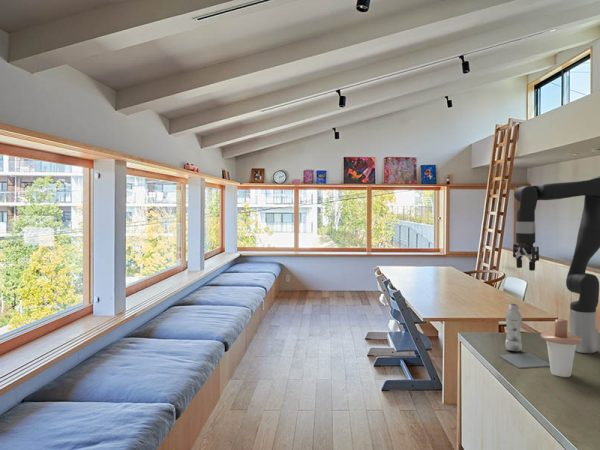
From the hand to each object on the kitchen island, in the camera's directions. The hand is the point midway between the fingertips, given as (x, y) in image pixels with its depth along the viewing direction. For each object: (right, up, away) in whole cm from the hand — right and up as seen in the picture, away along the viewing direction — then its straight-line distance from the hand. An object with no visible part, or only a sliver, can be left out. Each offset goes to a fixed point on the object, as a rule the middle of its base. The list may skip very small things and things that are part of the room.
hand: (525, 269), depth 188 cm
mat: (-8, -35, -15) cm, 39 cm away
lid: (-2, -23, -29) cm, 37 cm away
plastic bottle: (-7, -35, -2) cm, 36 cm away
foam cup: (-2, -36, -28) cm, 46 cm away
